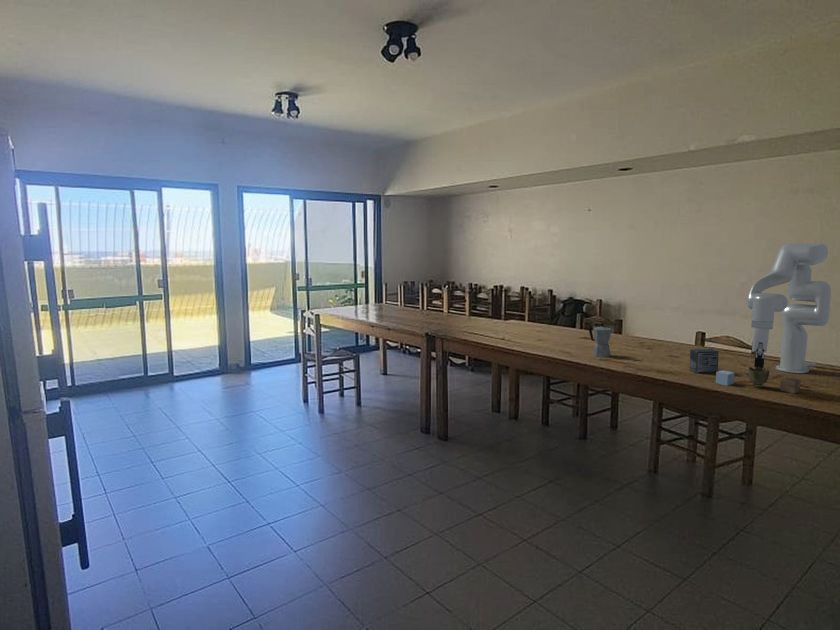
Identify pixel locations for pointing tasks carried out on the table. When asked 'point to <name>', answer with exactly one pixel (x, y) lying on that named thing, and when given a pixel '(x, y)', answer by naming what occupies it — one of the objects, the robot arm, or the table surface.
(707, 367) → the small box
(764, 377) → the cup
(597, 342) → the coffeepot
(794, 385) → the walnut cube
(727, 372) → the slate-blue cube
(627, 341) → the table surface
